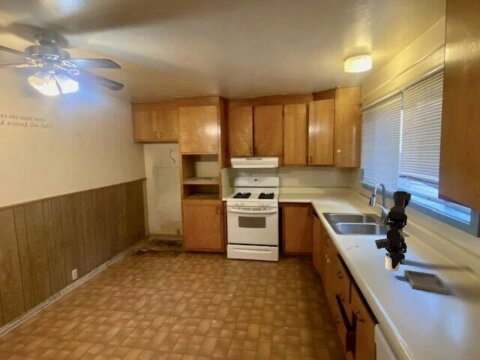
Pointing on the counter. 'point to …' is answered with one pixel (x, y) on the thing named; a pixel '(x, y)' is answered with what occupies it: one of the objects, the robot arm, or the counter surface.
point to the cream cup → (390, 263)
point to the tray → (425, 282)
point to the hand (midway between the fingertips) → (392, 265)
